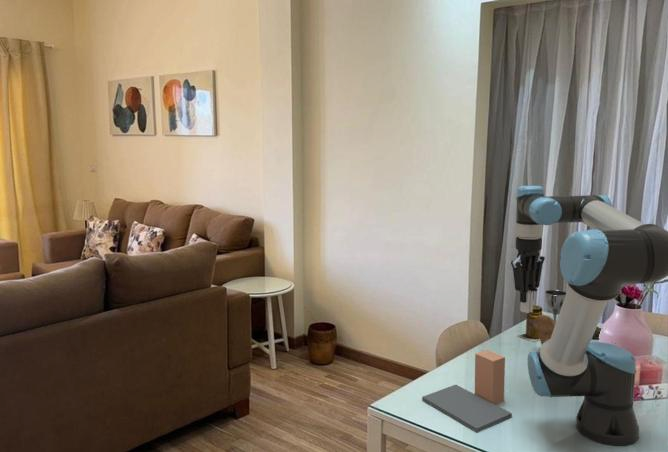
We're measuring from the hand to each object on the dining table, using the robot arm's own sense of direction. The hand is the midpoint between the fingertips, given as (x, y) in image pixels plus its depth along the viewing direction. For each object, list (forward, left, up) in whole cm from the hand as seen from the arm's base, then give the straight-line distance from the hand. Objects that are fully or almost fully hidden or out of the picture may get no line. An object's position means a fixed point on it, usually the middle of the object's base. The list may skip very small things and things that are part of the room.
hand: (526, 311), depth 170 cm
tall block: (0, +16, -24) cm, 29 cm away
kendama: (+8, -58, -25) cm, 64 cm away
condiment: (+25, -36, -25) cm, 50 cm away
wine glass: (+26, -51, -25) cm, 62 cm away
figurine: (+13, -28, -25) cm, 39 cm away
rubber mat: (0, +26, -24) cm, 36 cm away
